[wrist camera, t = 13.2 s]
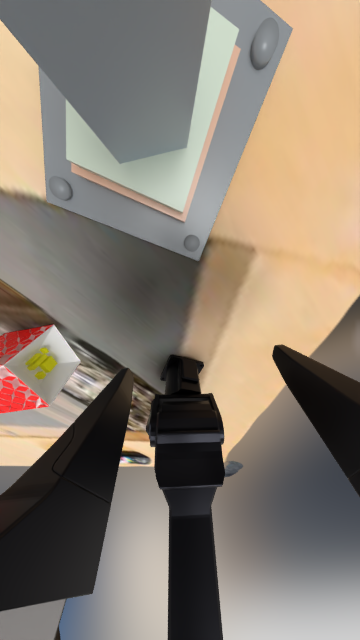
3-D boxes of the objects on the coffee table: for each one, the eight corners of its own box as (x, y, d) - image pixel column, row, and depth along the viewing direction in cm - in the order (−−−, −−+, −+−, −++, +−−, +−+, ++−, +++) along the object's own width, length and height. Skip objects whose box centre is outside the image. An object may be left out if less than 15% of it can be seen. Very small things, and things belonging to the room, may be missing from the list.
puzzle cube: (81, 361, 27) (50, 406, 20) (39, 368, 27) (-5, 414, 20) (53, 323, 23) (2, 364, 16) (5, 332, 23) (-65, 375, 16)
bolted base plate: (197, 260, 19) (203, 267, 15) (52, 202, 15) (17, 195, 12) (285, 40, 11) (335, -43, 8) (35, -168, 8) (-74, -484, 4)
